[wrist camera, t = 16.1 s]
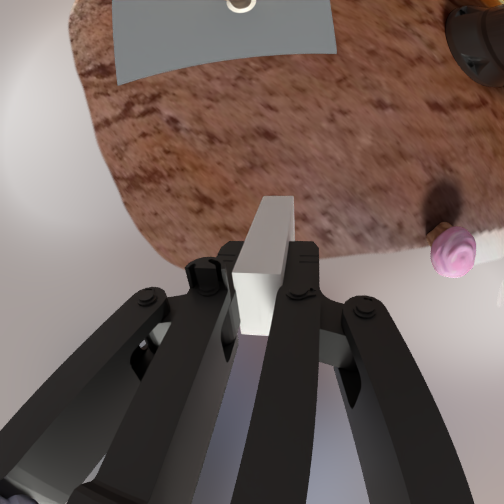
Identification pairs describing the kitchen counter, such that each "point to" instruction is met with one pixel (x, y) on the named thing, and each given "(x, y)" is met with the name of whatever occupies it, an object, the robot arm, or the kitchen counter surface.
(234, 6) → the wooden fence section
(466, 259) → the cupcake
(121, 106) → the kitchen counter surface
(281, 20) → the card
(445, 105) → the kitchen counter surface
